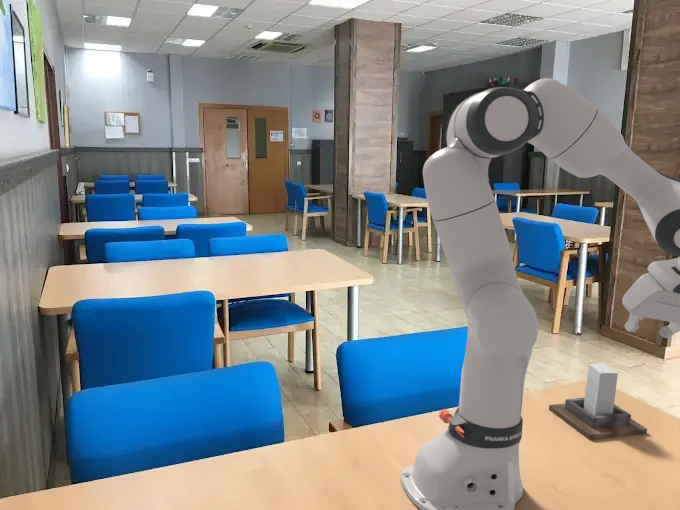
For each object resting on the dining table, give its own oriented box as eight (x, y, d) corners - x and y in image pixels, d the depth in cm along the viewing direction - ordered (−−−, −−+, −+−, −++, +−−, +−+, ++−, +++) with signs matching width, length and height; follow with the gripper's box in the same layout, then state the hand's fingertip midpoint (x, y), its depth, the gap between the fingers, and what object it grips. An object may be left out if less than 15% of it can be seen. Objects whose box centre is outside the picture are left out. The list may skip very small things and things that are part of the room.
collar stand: (589, 440, 125) (591, 424, 124) (548, 409, 139) (550, 395, 138) (646, 433, 128) (648, 418, 128) (601, 404, 143) (602, 391, 142)
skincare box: (612, 422, 130) (618, 373, 128) (594, 422, 130) (600, 373, 128) (599, 410, 136) (605, 363, 134) (582, 410, 136) (587, 363, 134)
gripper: (720, 278, 111) (673, 328, 118) (645, 260, 103) (599, 314, 111) (744, 300, 106) (693, 350, 113) (666, 282, 98) (617, 337, 106)
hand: (646, 332), depth 112 cm, fingers open, 8 cm apart
